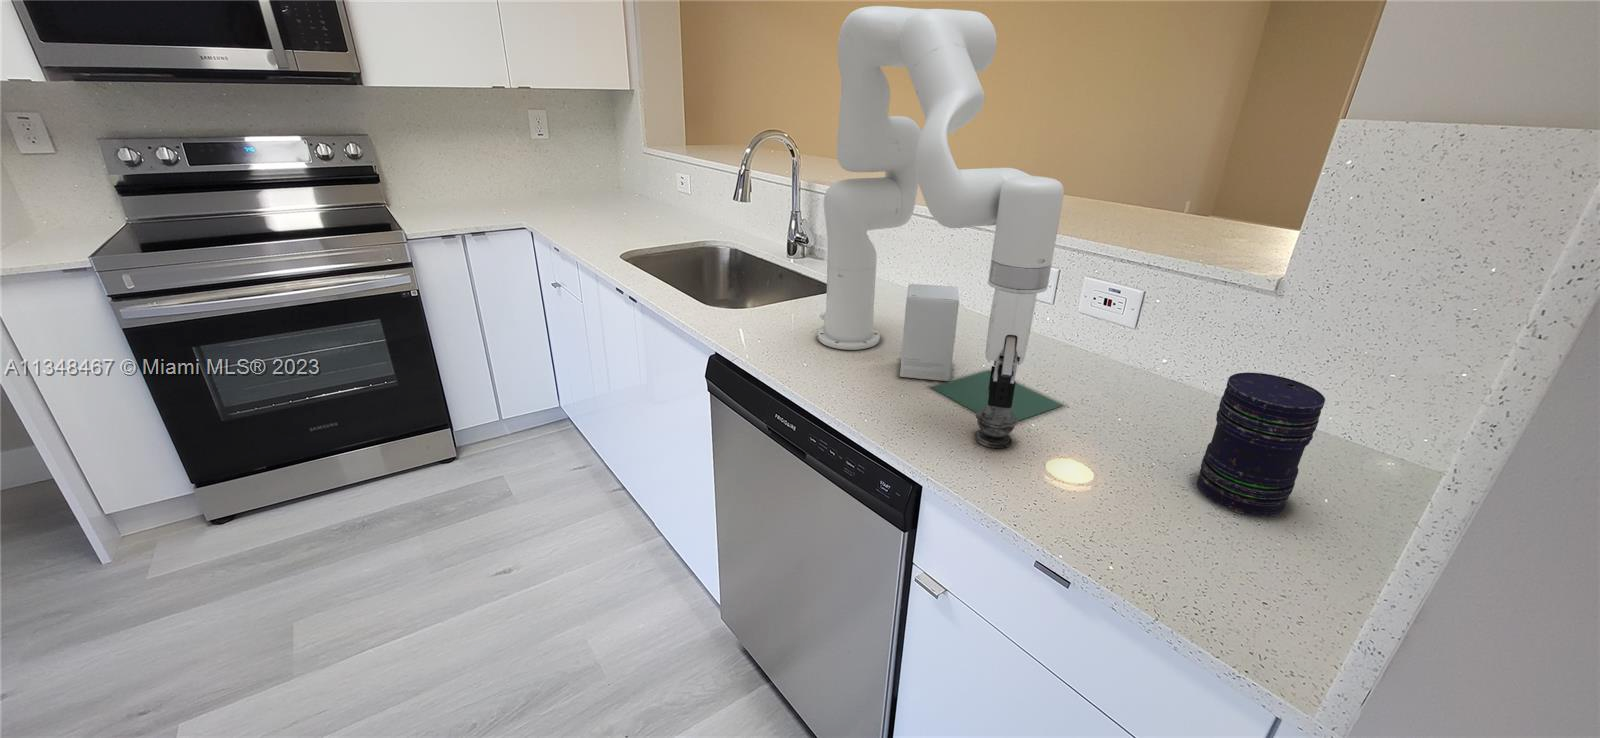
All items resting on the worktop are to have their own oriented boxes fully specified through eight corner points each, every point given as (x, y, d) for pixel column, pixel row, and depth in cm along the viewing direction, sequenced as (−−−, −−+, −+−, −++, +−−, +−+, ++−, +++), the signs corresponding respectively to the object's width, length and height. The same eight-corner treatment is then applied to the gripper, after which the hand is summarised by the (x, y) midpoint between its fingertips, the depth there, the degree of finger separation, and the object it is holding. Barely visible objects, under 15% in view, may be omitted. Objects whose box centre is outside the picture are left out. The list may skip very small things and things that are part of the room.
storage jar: (1251, 525, 77) (1291, 414, 71) (1178, 482, 85) (1208, 379, 79) (1303, 506, 81) (1346, 399, 75) (1228, 466, 89) (1261, 367, 83)
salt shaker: (991, 452, 91) (1004, 375, 86) (964, 434, 96) (974, 360, 91) (1022, 443, 94) (1036, 368, 89) (994, 425, 99) (1005, 353, 94)
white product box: (950, 382, 113) (960, 300, 107) (899, 377, 114) (905, 296, 108) (950, 363, 121) (958, 285, 115) (902, 359, 123) (908, 282, 117)
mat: (930, 387, 111) (931, 387, 111) (989, 371, 118) (989, 370, 118) (1001, 427, 99) (1002, 426, 99) (1062, 405, 105) (1062, 405, 105)
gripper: (990, 257, 93) (974, 373, 100) (988, 290, 78) (969, 422, 86) (1045, 261, 91) (1025, 379, 99) (1053, 296, 76) (1029, 431, 84)
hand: (999, 398), depth 92 cm, fingers closed on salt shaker, 3 cm apart
